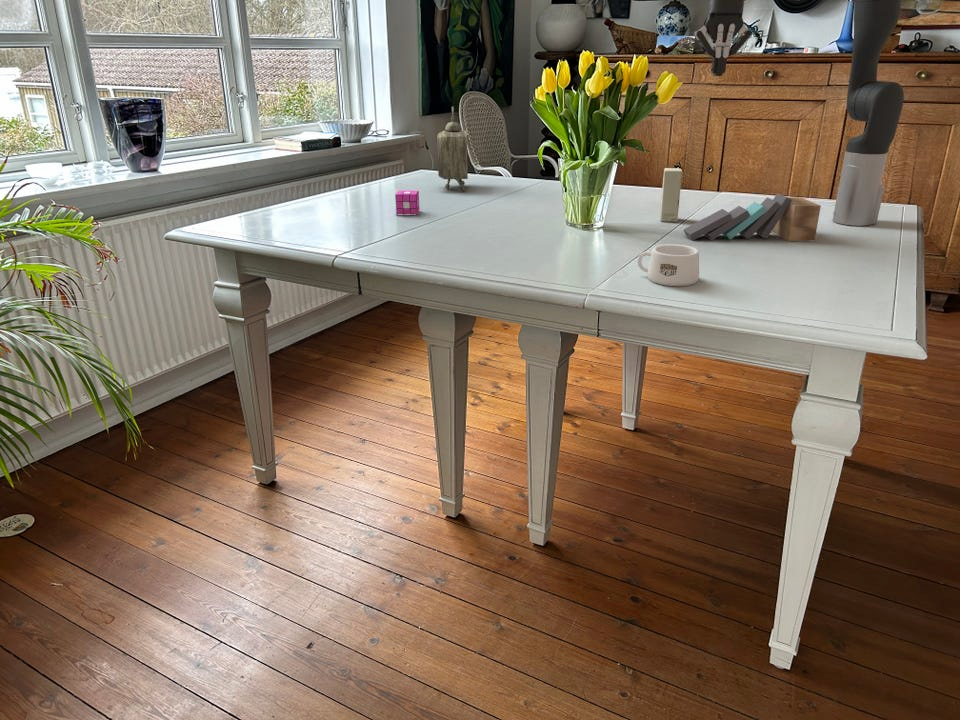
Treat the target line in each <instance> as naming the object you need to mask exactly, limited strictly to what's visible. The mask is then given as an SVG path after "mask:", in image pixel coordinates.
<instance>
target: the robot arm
mask: <svg viewBox="0 0 960 720" xmlns="http://www.w3.org/2000/svg"><path fill="white" fill-rule="evenodd" d="M707 3H708V4H707V12H706V18H705V20H704V22H703V26H701V28H699V29H698V30H694V32H693V37H694V38H695V41H696V42H697V44H698V45H699V47H700V48H701V50H702V52H703V53H704V55H705V56H709V57H710V58H711V65H710V68H711V69H710V72H711V74H712V76H713V77H722V76H723V74H725V72H726V70H727V69H726V68H727V61H728V58H729V57H730V56H735V55H736V54H737V53H738V52H739V51H740V50H741V48H742V47H743V46H744V44H745V43H746V42H747V41H748V39H749V38H750V37H752V34H753V32H752V30H750V29H749V30H748V29H747V27H745V26H744V23H745V22H744V19H743V13H744V6H745V0H708V1H707ZM853 4H854V5H853V37H852V38H853V41H852V42H853V43H852V53H851V55H852V57H851V64H850V72H849V73H850V74H849V80H848V87H847V95H846V111H847V114H848V115H849V117H850V119H851V120H853V121H857V122H865V123H867V125H866V127H865V129H864V132H862V133H861V134H860V135H857V136H854V137H851V138H849V139H848V140H847V142H846V145H845V147H846V148H845V152H844V157H843V162H842V168H841V171H840V172H841V173H840V178H839V179H840V180H839V183H838V189H837V195H836V199H835V204H834V211H833V213H832V221H833V222H834V223H837V224H840V225H846V226H856V227H857V226H860V227H863V226H871V225H877V223H878V218H879V215H880V214H879V213H880V209H881V204H882V200H883V197H884V196H883V195H884V191H885V185H884V184H882V182H883V178H884V172H885V169H886V162H887V158H888V154H889V150H890V146H891V145H892V143H893V141H894V140H895V136H896V132H897V129H898V125H899V122H900V118H901V116H902V115H901V114H902V110H903V106H904V101H905V98H904V97H905V93H904V89H903V86H902V85H901V84H900V83H899V82H896V81H888V80H887V81H885V80H883V81H882V80H878V75H877V74H878V65H879V64H878V63H879V61H880V56H881V54H882V51H883V50H884V47H885V45H886V44H887V42H888V41H889V39H890V37H891V35H892V34H893V33H894V30H895V28H896V26H897V24H898V22H899V19H900V16H901V7H902V5H901V4H902V0H854V3H853ZM707 35H708V37H709V38H710V41H711V44H710V43H709V41H708V39H707V38H706V37H707ZM736 36H738V37H737V38H736V40H735V41H734V42H733V39H734V38H735V37H736ZM732 42H733V44H732Z"/></svg>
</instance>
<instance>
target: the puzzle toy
mask: <svg viewBox="0 0 960 720" xmlns="http://www.w3.org/2000/svg"><path fill="white" fill-rule="evenodd" d="M394 196H395V211H396V213H395V214H418V215H419V213H420V211H419V210H421V209H420V191H419V190H398V191H397V192H396V193H395V195H394ZM418 212H419V213H418Z"/></svg>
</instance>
